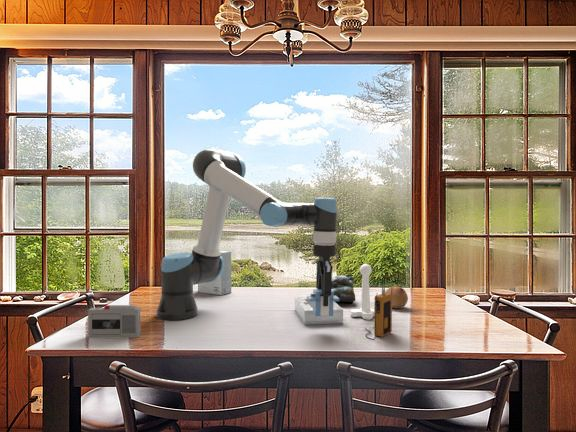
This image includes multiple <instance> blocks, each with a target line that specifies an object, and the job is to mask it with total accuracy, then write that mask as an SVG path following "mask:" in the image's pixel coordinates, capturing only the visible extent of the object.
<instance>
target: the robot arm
mask: <svg viewBox="0 0 576 432" xmlns="http://www.w3.org/2000/svg"><path fill="white" fill-rule="evenodd" d="M246 169H247V168H246V163H245V162H244V159H243V158H242V157H241V156H240V155H239V154H238V153H234V152H232V151H226V150H225V151H224V150H217V149H209V148H207V149H204V150H200V152H198V153H197V154H196V155H195V157H194V158H193V160H192V170H193V173H194V174H195V176H196V177H197V178H198V179H199V180H201V181H202V182H204V183H205V184H206V185H207V186H208V187H209V189H208V192H207V193H208V194H207V197H206V202H205V207H204V210H203V211H204V212H203V217H202V222H201V227H200V231H199V237H198V240H197V244H196V245H195V246H193V247H192V249H191V250H192V251H191V252H176V253H171V254H168V255H165V256H164V257H163V258H162V259H161V267H160V270H161V275H160V277H161V297H160V300H159V302H158V303H159V304H158V305H157V309H156V318H158V319H159V320H167V321H179V320H180V321H181V320H189V319H191V318H195V317H196V316H198V314H199V313H198V306H197V303H196V300H195V296H194V285H198V284H200V283H205V282H206V283H207V282H211V281H213V280H216V279H218V278H219V277H220V276H221V274H222V272H223V270H224V262H223V258H222V257H221V252H220V251H221V250H220V249H219V248H220V244H221V238H222V235H223V231H224V226H225V221H226V218H227V217H226V216H227V212H228V209H229V203H230V199H231V197H232V198H233V199H234V200H235V201H237V202H239V203H240V204H241V205H243V206H244V207H247V209H249V210H251V211H252V212H254V213H255V214H257V215H258V216H259V217H260V219H261V221H262V223H263V225H265V226H267V227H273V228H274V227H276V228H278V227H286V226H287V227H288V226H313V238H312V241H313V243H314V244H313V246H312V249H313V250H312V255H313V256H315V257H318V259H316V262H315V263H316V274H315V275H316V277H315V279H316V280H315V281H316V284H315V289H322V294H321V295H320V296H321V310H320V315H321V316H329V296H331V287H332V279H333V278H332V277H333V268H334V267H333V265H332V262H331V258H332V257H335V256H336V254H337V245H335V244H336V242H337V238H338V234H337V216H338V206H337V205H338V201H337V199H336V198H334V197H315V198H314V201H313V203H311V202H310V203H308V202H307V203H306V202H282V201H280V200H279V199H277V198H276V197H274V196H272V195H271V194H270V193H267V192H266V191H264V190H263V189H261V188H259V187H258V186H256V185H254V184H253V183H252V182H250V181H248V180H247V179H245V176H246Z"/></svg>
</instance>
